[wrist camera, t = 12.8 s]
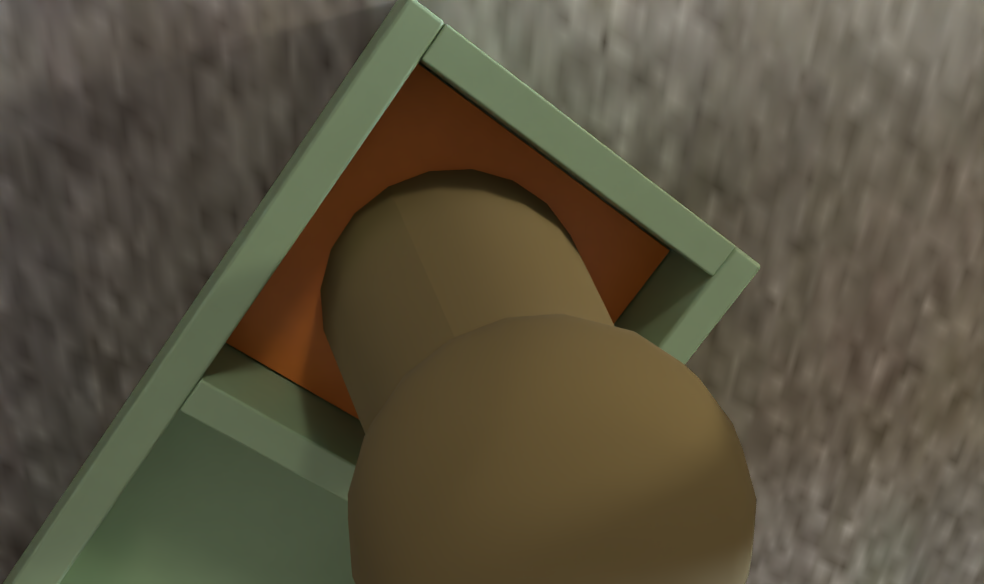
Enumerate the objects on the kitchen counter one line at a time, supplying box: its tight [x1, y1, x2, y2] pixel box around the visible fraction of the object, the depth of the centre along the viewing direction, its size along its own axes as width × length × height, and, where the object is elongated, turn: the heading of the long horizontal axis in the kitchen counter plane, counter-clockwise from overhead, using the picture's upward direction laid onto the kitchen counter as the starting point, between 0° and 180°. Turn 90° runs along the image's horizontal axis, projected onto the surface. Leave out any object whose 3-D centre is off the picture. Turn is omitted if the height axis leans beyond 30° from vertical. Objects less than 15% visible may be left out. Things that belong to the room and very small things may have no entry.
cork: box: [320, 169, 757, 584], centre depth 15 cm, size 6×6×11 cm
